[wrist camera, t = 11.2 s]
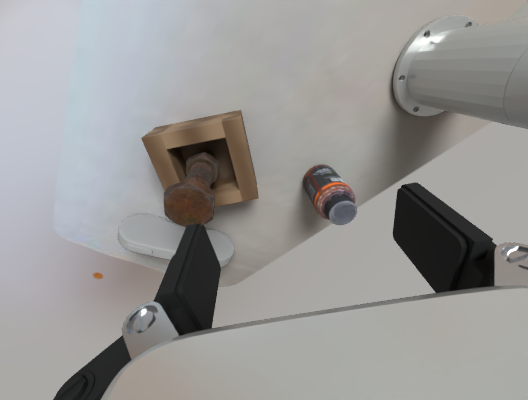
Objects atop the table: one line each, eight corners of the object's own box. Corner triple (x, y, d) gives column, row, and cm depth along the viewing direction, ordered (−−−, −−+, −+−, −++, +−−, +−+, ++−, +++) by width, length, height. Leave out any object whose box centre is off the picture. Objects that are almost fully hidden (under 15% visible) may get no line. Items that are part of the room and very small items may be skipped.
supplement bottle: (309, 198, 44) (329, 237, 34) (297, 173, 41) (314, 207, 31) (339, 184, 43) (369, 220, 33) (329, 157, 40) (357, 187, 30)
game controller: (129, 218, 43) (106, 250, 36) (130, 208, 42) (107, 238, 35) (231, 243, 48) (230, 274, 40) (235, 234, 47) (234, 265, 39)
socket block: (240, 110, 35) (240, 118, 30) (256, 181, 41) (258, 198, 36) (155, 127, 35) (141, 138, 30) (183, 195, 41) (175, 214, 36)
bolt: (221, 177, 39) (211, 232, 27) (190, 173, 39) (164, 228, 26) (224, 143, 37) (214, 186, 24) (191, 138, 36) (162, 180, 23)
